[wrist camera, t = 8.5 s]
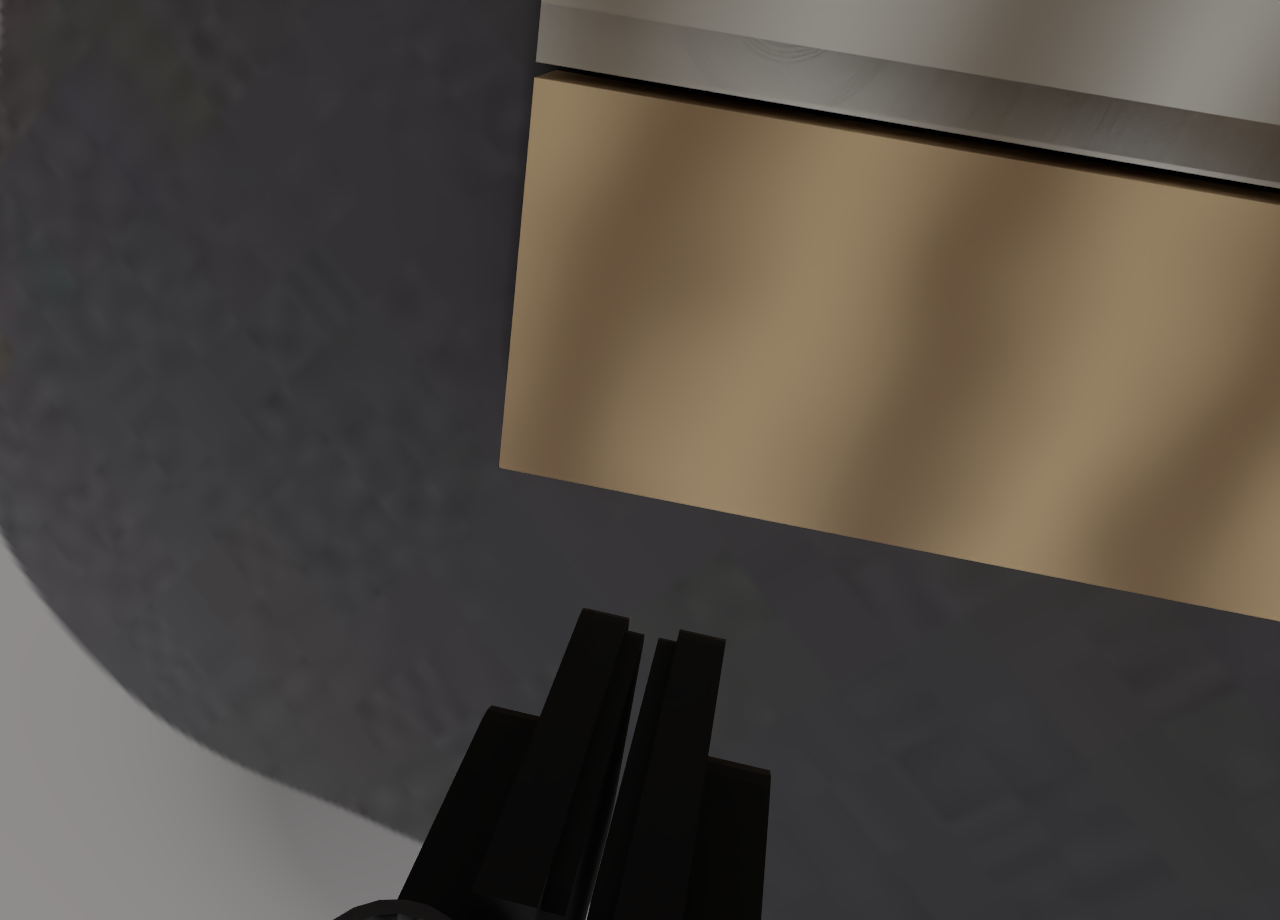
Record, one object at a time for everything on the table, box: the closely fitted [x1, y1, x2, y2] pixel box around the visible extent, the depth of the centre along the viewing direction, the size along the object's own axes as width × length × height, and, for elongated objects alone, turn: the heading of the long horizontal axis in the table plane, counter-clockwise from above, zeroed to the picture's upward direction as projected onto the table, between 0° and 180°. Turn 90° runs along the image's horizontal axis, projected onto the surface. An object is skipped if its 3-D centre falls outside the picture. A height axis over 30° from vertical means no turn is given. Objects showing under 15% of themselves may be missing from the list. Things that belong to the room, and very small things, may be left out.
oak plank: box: [499, 70, 1280, 621], centre depth 22 cm, size 20×9×2 cm, turn 81°
